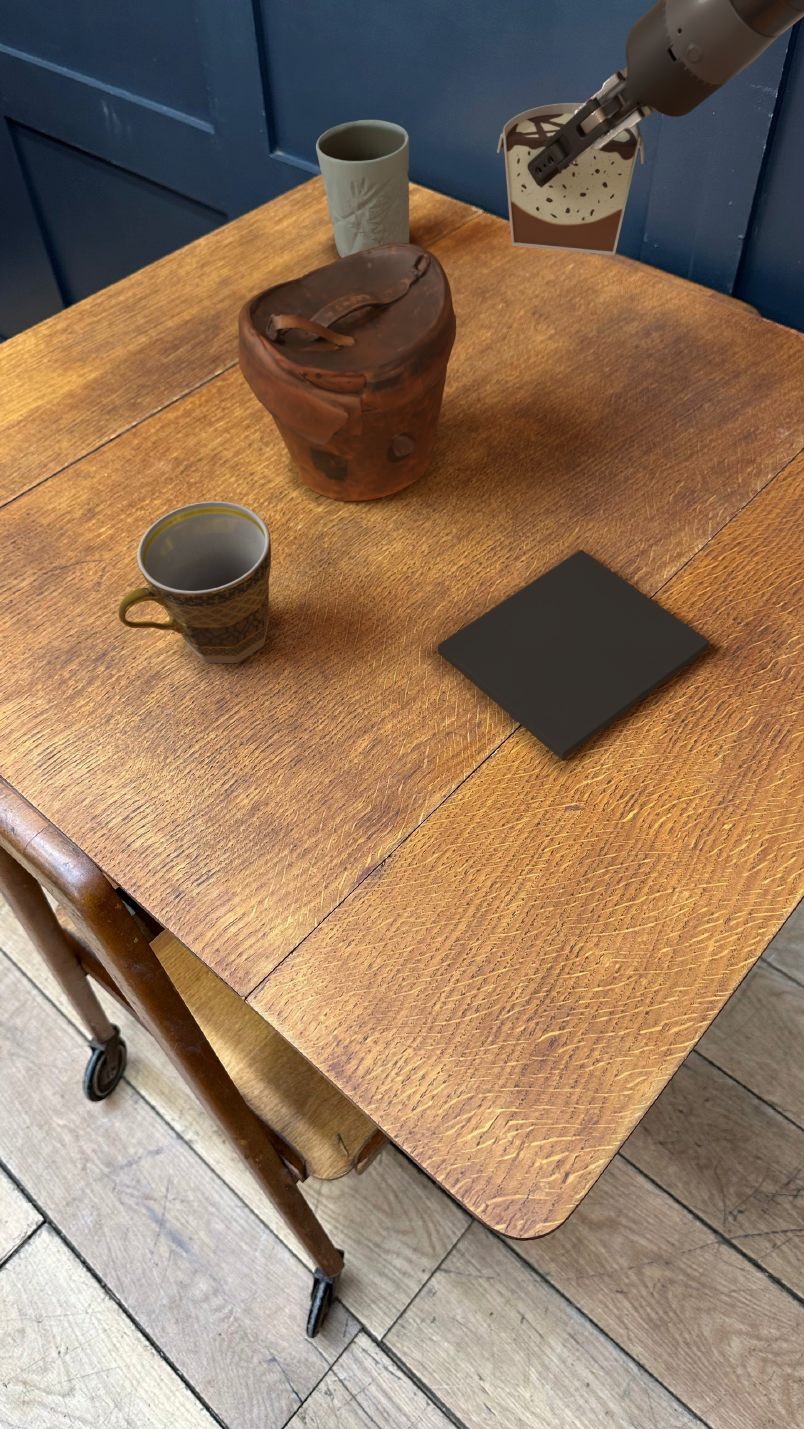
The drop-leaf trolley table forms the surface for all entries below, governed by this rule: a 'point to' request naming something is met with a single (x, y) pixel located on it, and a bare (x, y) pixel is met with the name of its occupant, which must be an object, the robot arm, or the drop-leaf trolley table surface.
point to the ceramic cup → (208, 578)
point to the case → (354, 367)
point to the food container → (567, 185)
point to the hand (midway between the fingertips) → (561, 157)
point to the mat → (572, 652)
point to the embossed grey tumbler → (366, 183)
